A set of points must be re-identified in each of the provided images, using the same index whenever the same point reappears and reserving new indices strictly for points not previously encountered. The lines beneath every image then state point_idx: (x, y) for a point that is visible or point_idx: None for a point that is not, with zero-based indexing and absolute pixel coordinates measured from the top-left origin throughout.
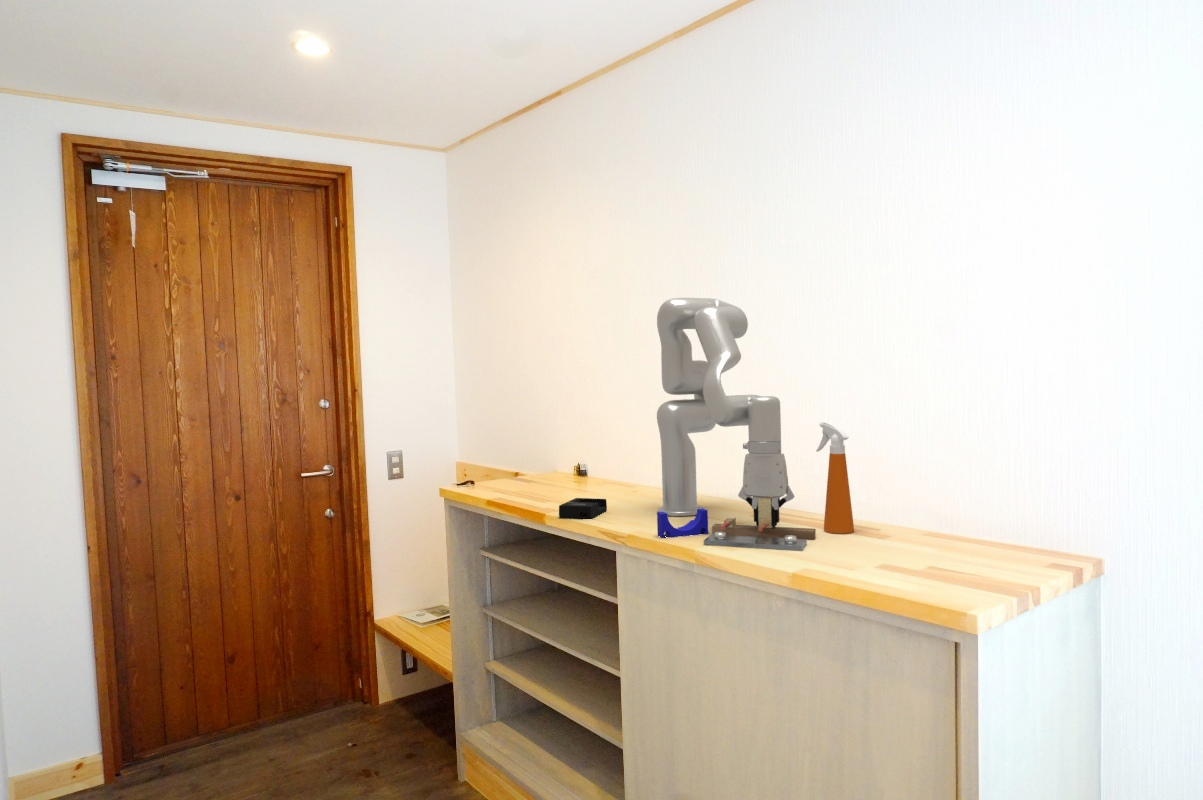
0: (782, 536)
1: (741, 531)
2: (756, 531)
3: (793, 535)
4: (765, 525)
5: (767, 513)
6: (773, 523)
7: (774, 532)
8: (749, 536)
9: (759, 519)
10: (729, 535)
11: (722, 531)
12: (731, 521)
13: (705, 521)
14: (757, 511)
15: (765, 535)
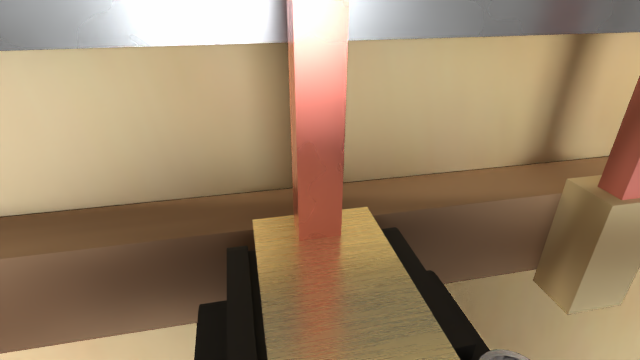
0: (163, 206)
1: (481, 186)
2: (375, 201)
3: (60, 224)
4: (296, 161)
5: (312, 319)
6: (237, 261)
7: (229, 215)
8: (411, 30)
9: (384, 252)
10: (573, 20)
11: (598, 169)
12: (610, 203)
13: None
14: (443, 325)
15: None
